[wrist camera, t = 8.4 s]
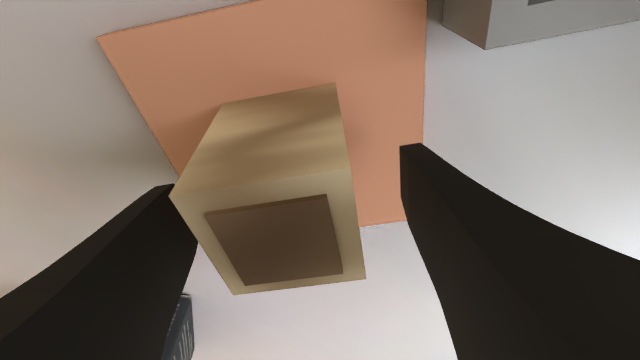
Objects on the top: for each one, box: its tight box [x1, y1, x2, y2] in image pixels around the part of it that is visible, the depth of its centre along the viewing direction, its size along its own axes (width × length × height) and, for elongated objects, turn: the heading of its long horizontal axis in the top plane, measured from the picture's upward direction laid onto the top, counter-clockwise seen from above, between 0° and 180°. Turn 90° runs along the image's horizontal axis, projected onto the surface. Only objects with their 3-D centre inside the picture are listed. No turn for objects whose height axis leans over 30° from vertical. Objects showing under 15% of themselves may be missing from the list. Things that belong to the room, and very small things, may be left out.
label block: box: [169, 83, 366, 295], centre depth 9 cm, size 4×4×5 cm
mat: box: [96, 0, 427, 227], centre depth 12 cm, size 10×10×1 cm
